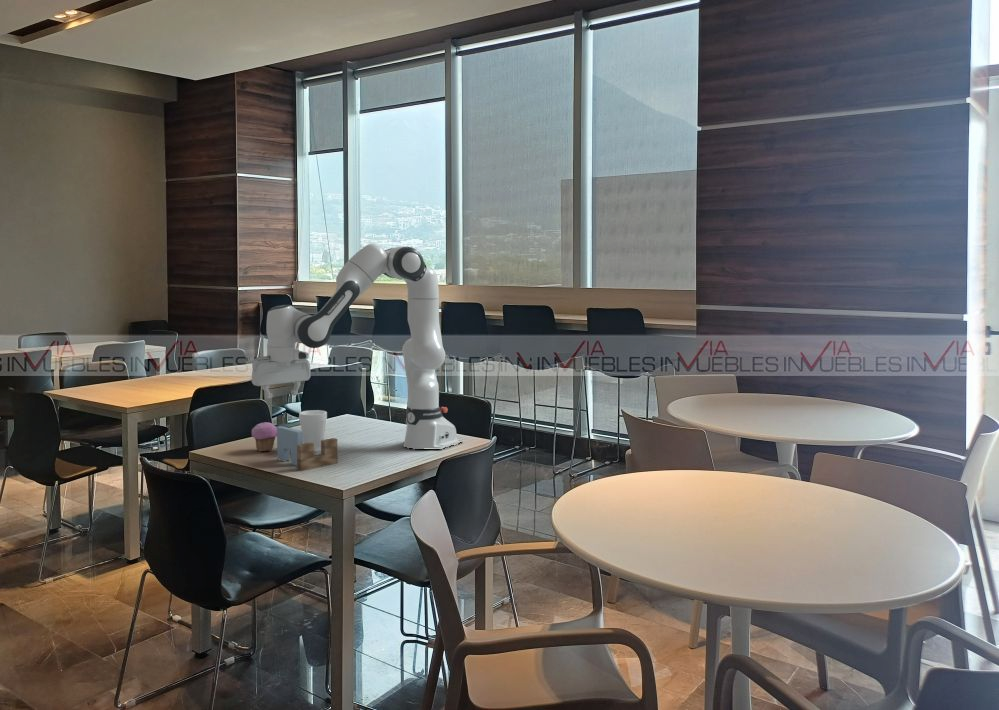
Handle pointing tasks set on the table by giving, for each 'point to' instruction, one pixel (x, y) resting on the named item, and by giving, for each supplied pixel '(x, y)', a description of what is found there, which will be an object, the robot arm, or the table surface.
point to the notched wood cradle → (310, 460)
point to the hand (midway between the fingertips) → (282, 396)
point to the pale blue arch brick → (288, 443)
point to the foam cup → (313, 427)
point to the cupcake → (264, 436)
